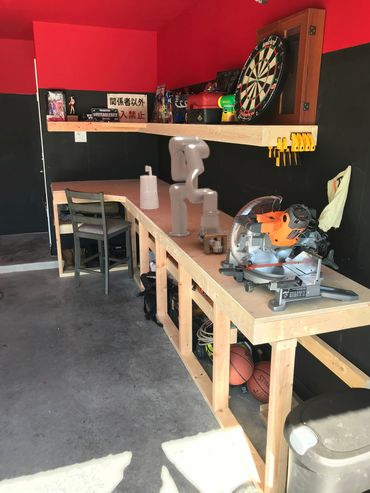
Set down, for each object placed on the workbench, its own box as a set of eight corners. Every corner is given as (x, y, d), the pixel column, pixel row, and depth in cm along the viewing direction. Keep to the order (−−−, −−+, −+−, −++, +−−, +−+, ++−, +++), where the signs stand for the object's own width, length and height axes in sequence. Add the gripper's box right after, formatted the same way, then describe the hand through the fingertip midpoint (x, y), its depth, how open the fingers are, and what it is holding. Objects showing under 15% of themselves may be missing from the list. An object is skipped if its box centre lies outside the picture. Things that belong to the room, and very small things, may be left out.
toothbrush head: (204, 234, 246) (223, 239, 223) (205, 245, 247) (224, 251, 224) (196, 235, 244) (214, 240, 221) (196, 246, 245) (215, 252, 222)
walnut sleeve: (203, 252, 228) (203, 234, 225) (224, 250, 231) (224, 232, 228) (205, 254, 224) (205, 236, 221) (226, 252, 227) (227, 234, 224)
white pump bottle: (136, 207, 350) (134, 166, 340) (152, 204, 358) (150, 164, 349) (146, 210, 338) (144, 167, 328) (162, 207, 346) (161, 166, 337)
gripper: (222, 211, 235) (222, 243, 240) (193, 213, 231) (193, 245, 236) (227, 214, 228) (226, 246, 233) (197, 216, 224) (197, 249, 229)
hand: (210, 245), depth 235 cm, fingers closed on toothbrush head, 5 cm apart
